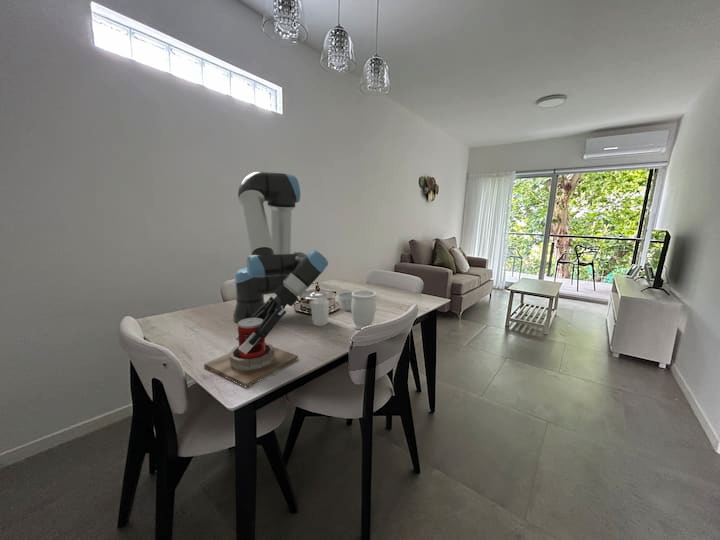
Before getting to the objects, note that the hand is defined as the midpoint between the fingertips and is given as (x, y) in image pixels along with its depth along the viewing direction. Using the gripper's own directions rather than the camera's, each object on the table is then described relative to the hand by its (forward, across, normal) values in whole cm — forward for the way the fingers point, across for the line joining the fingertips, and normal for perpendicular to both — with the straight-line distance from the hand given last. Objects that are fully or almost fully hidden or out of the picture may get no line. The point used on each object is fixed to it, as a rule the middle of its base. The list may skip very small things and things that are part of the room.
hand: (240, 345), depth 90 cm
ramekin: (-36, +38, -46) cm, 69 cm away
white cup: (-20, +24, -30) cm, 44 cm away
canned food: (0, 0, -5) cm, 5 cm away
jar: (-31, +12, -41) cm, 52 cm away
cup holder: (+2, 0, -7) cm, 7 cm away
